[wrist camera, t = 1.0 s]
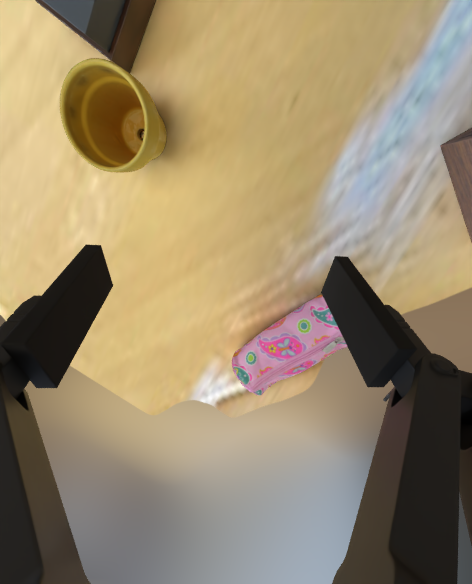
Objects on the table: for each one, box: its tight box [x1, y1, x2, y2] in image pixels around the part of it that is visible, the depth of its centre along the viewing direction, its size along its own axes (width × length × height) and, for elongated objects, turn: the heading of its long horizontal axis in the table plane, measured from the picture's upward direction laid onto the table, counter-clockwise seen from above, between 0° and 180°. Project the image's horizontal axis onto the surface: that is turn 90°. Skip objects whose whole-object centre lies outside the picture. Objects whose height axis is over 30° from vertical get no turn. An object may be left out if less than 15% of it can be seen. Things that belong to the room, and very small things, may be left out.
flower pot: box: [60, 58, 166, 172], centre depth 31 cm, size 10×10×10 cm
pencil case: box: [232, 295, 348, 395], centre depth 41 cm, size 21×9×9 cm, turn 131°
